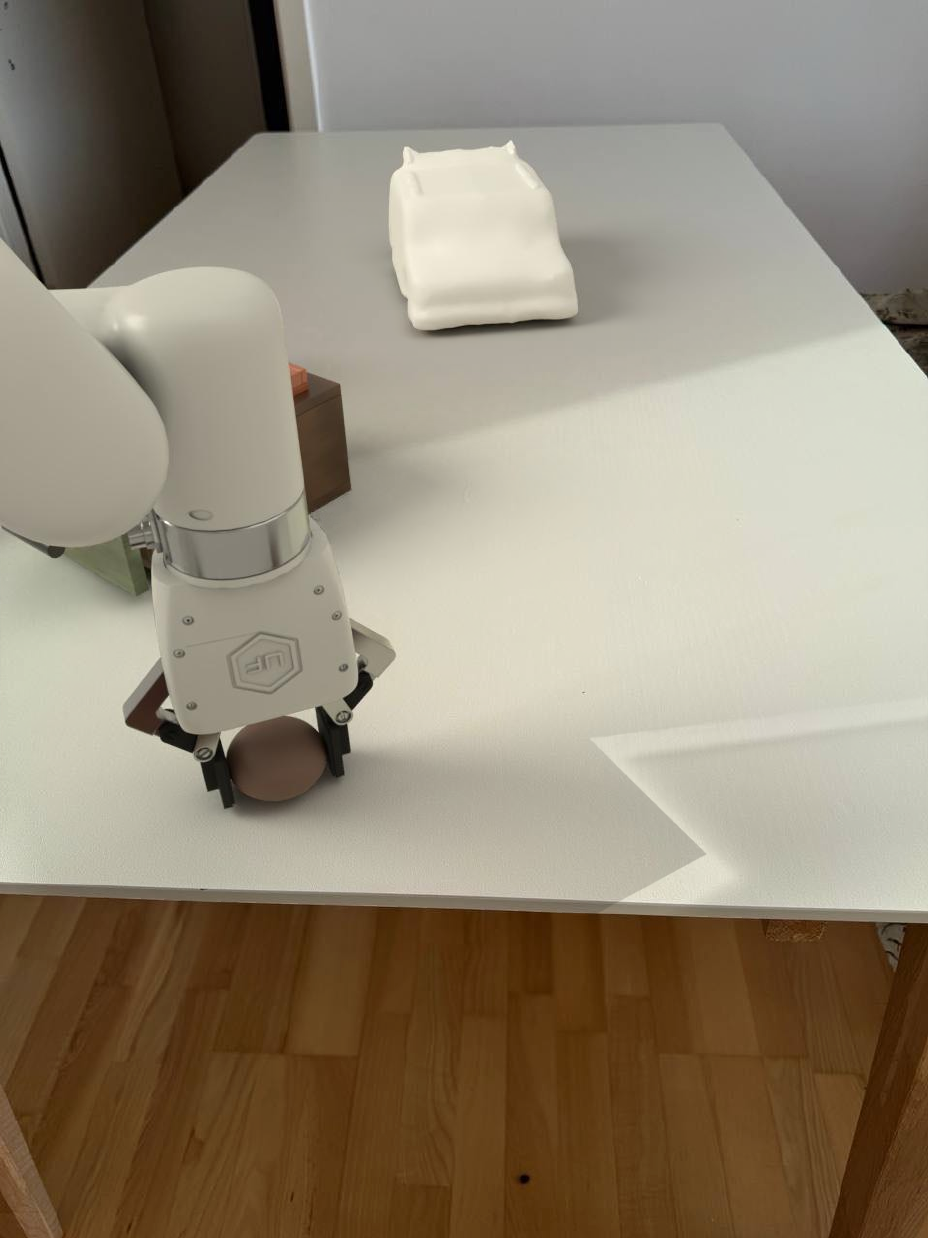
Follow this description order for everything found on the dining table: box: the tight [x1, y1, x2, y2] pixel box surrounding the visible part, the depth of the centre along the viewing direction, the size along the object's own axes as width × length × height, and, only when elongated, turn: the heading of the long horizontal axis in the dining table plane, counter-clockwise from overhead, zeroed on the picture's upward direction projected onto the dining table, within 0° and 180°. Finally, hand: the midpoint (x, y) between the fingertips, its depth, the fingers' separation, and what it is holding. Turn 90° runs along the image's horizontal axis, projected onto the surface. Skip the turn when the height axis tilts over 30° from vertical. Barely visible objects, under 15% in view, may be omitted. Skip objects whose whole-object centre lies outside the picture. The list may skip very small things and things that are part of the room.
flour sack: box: [388, 139, 579, 331], centre depth 128 cm, size 19×30×13 cm, turn 8°
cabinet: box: [293, 371, 352, 515], centre depth 90 cm, size 15×13×10 cm
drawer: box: [0, 515, 155, 598], centre depth 84 cm, size 18×12×8 cm, turn 141°
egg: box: [225, 715, 327, 802], centre depth 65 cm, size 6×6×4 cm
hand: (279, 774), depth 66 cm, fingers closed on egg, 6 cm apart
